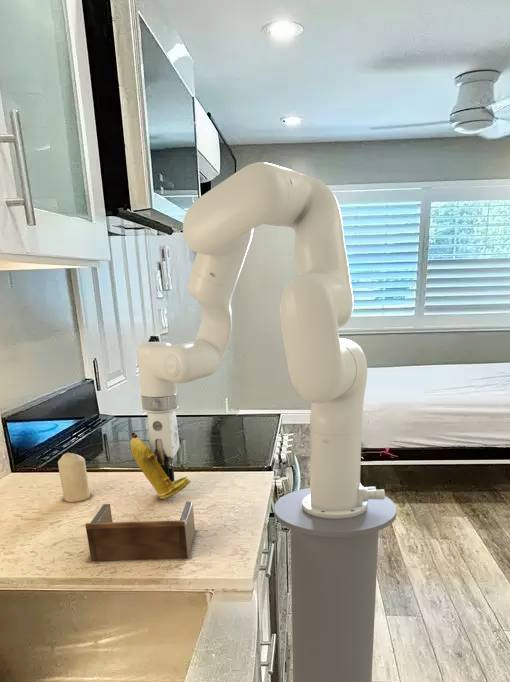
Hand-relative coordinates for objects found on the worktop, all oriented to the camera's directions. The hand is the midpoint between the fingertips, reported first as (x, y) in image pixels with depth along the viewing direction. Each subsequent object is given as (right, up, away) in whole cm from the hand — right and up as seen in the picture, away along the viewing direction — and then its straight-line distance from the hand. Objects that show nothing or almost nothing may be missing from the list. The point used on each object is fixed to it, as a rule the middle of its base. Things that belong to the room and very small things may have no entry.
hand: (167, 483), depth 128 cm
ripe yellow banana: (0, -4, -4) cm, 6 cm away
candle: (-19, -3, -2) cm, 20 cm away
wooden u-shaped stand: (+1, -12, -26) cm, 28 cm away
